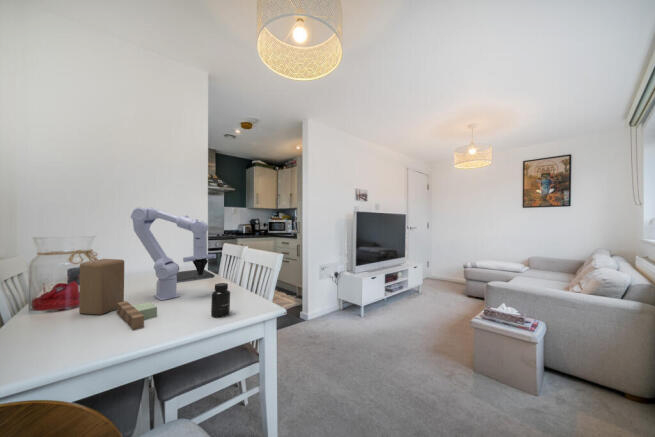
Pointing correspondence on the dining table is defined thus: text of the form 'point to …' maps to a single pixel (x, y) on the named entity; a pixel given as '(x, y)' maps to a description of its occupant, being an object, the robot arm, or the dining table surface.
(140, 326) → the notched wooden bar
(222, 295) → the supplement bottle
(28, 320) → the dining table surface
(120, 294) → the block
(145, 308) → the sage block
